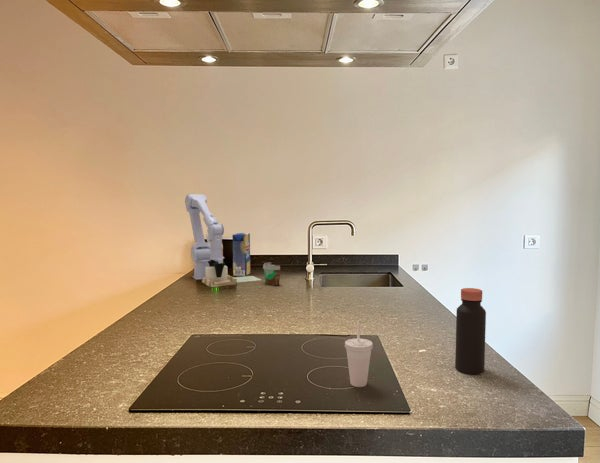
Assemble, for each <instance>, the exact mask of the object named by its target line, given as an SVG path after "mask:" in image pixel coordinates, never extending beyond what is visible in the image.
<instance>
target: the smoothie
mask: <svg viewBox="0 0 600 463" xmlns="http://www.w3.org/2000/svg"><path fill="white" fill-rule="evenodd" d="M356 324H357V325H356V326H357V327H356V328H357V330H356V332H357V334H356V338H349V339H347V340H345V341H344V348H345V349H346V356H347V357H346V358H347V366H348V374H349V375H348V376H349V381H350V382H349V383H350V385H351V386H353V387H354V388H355V387H356V388H362V387H366V386H367V383H368V377H369V368H370V361H371V354H372V350H373V348H374V344H373V341H371V340H369V339H367V338H366V339H365V338H361V337H360V336H361V334H360V333H361V332H360V329H361V328H360V327H361V326H360V325H361V324H360V322H357V323H356Z"/></svg>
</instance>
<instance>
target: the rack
mask: <svg viewBox="0 0 600 463" xmlns="http://www.w3.org/2000/svg"><path fill="white" fill-rule="evenodd" d="M219 281H231V282H230V283H220V284H213V282H219ZM219 281H209V280H208V279H206V278H204V277H202V279H201V283H203V284H204V285H206V286H208V287H209V288H214V287H215V288H216V287H223V286H225V287H226V286H234V285H237V284H238V283H237V279H236V278H235V277H234V276H231V275H229V274H228V280H219Z"/></svg>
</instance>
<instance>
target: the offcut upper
mask: <svg viewBox="0 0 600 463" xmlns="http://www.w3.org/2000/svg"><path fill="white" fill-rule="evenodd" d="M230 282H231V281H219V282H213V284H220V283H230Z"/></svg>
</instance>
